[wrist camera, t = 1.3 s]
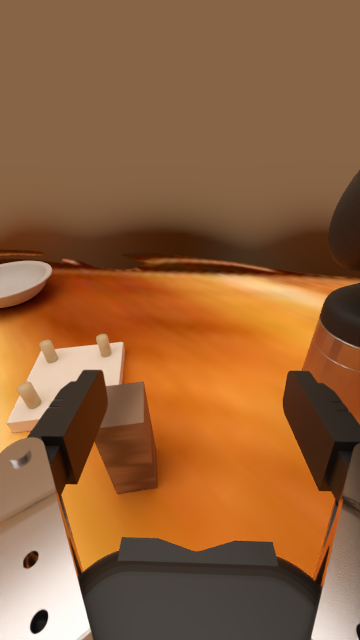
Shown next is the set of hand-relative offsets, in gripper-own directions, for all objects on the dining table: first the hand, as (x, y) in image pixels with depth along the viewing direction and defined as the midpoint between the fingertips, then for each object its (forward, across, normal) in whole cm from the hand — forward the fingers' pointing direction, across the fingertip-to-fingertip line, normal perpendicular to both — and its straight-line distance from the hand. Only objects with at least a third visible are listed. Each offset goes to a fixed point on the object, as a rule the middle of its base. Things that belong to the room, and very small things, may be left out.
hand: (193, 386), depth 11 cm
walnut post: (+14, +7, +25) cm, 29 cm away
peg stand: (+28, +20, +22) cm, 41 cm away
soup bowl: (+59, +51, +17) cm, 79 cm away
